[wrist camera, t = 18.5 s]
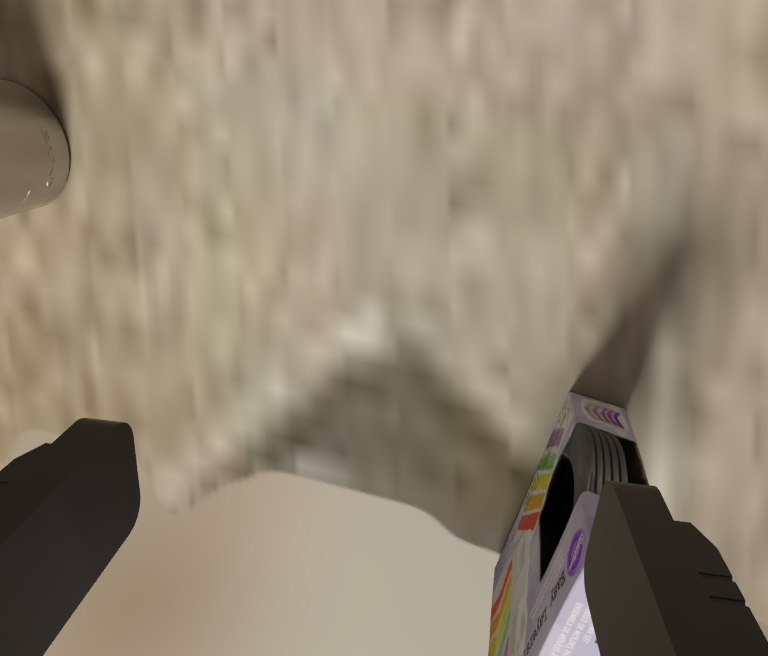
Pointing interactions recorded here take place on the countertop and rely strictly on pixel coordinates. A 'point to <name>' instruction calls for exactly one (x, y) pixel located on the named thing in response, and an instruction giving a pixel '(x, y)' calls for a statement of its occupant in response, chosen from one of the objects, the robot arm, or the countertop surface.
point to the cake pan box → (560, 534)
